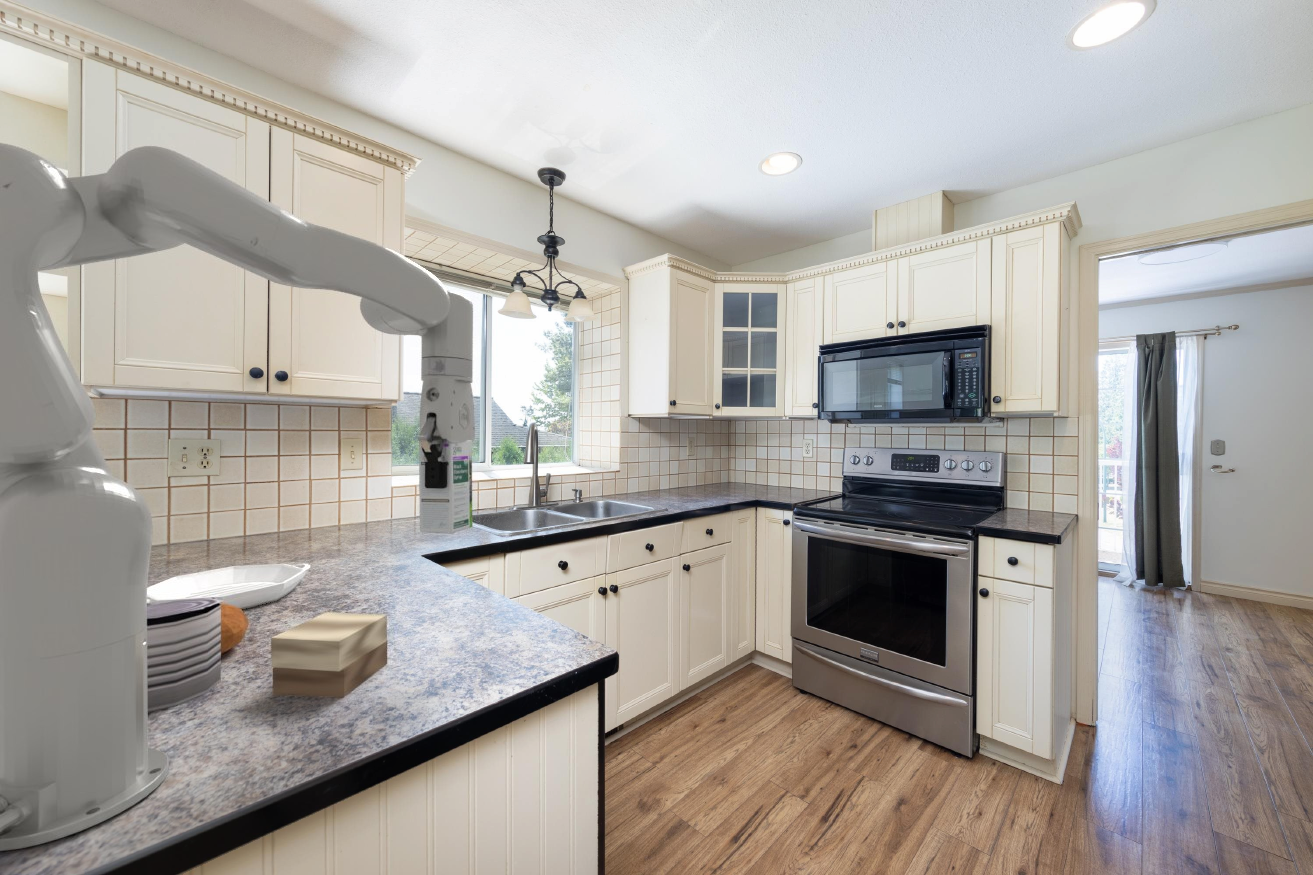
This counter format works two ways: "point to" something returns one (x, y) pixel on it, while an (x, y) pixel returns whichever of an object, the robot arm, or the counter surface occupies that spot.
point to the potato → (232, 626)
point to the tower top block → (328, 641)
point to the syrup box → (448, 492)
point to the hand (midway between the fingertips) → (446, 484)
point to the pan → (231, 585)
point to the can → (182, 650)
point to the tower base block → (329, 677)
